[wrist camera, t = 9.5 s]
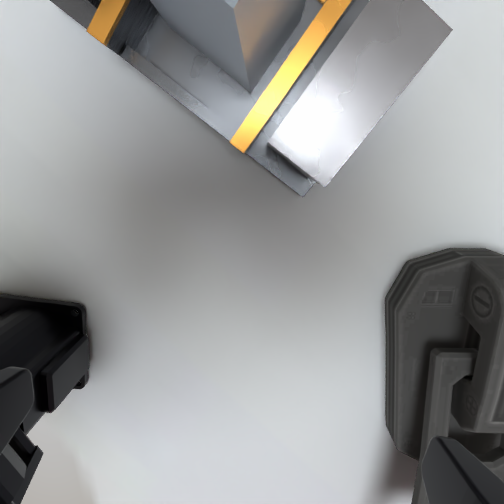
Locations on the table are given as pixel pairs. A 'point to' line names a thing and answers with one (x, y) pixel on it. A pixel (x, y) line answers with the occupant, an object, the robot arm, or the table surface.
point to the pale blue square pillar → (235, 31)
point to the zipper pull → (447, 356)
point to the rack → (284, 77)
